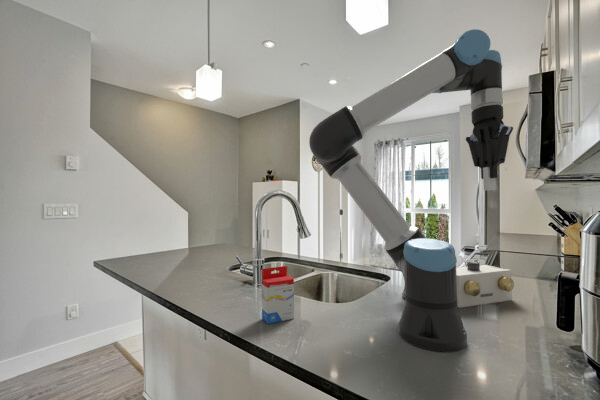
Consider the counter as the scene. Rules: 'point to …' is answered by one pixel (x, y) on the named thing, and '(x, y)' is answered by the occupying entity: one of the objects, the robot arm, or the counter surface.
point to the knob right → (505, 284)
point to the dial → (473, 266)
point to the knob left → (472, 288)
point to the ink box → (277, 295)
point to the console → (482, 285)
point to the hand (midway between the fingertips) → (489, 190)
